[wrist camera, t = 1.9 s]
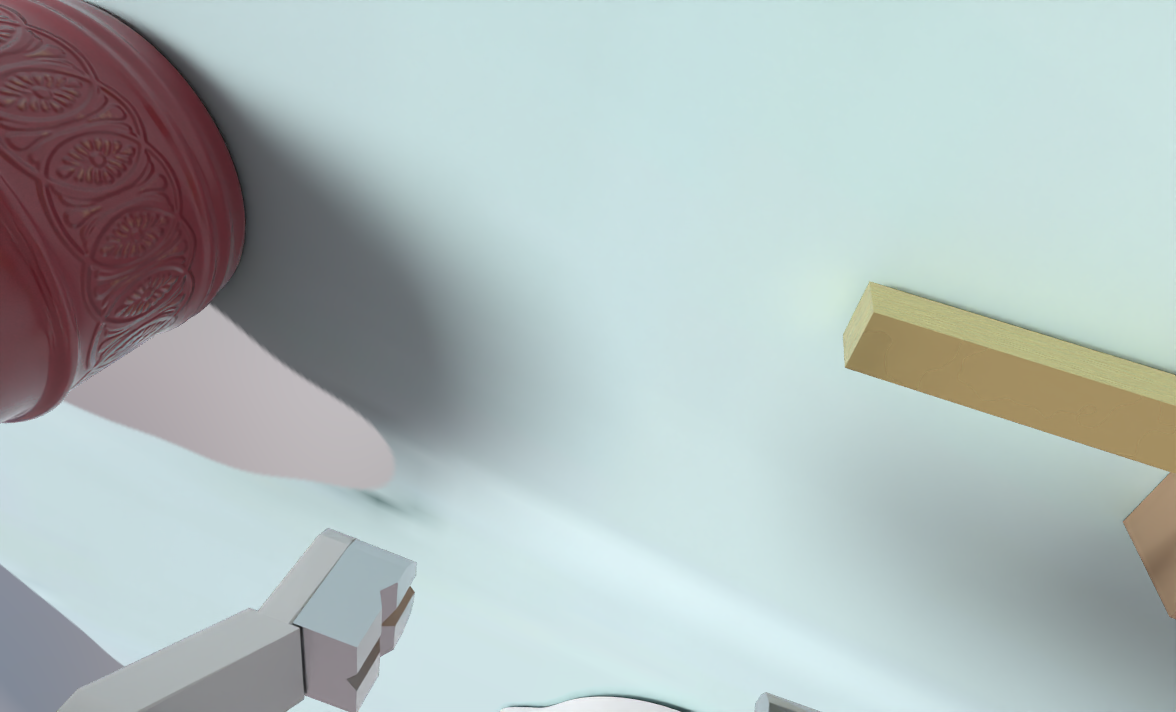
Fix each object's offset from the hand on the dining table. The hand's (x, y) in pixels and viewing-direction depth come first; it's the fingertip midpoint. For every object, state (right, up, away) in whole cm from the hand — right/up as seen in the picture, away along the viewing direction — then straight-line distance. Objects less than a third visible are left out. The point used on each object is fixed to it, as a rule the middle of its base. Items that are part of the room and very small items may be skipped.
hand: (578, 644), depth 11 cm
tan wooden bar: (+14, +4, +11) cm, 18 cm away
